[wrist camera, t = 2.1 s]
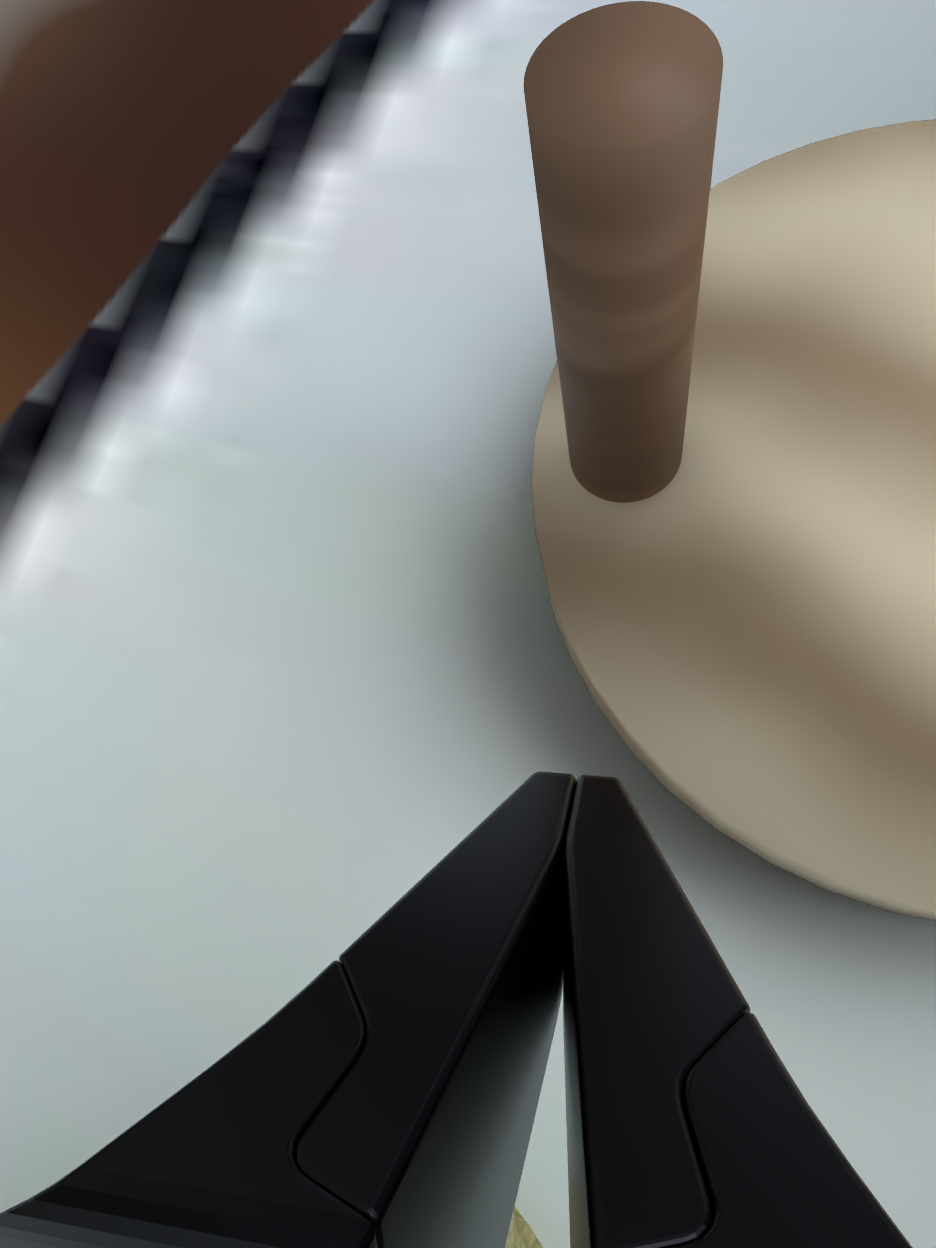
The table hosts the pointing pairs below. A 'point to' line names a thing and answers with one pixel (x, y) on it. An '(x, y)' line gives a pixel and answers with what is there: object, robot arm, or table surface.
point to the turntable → (743, 452)
